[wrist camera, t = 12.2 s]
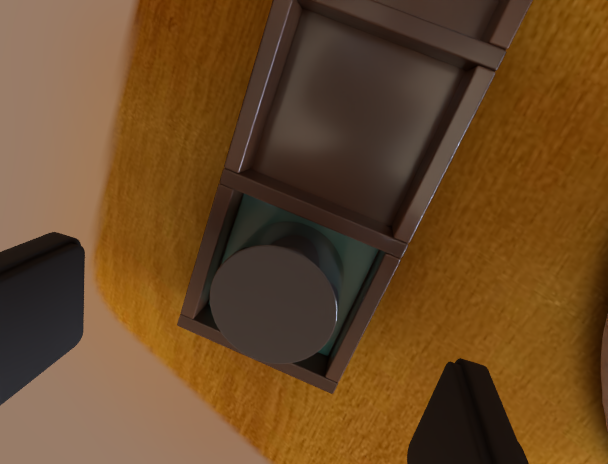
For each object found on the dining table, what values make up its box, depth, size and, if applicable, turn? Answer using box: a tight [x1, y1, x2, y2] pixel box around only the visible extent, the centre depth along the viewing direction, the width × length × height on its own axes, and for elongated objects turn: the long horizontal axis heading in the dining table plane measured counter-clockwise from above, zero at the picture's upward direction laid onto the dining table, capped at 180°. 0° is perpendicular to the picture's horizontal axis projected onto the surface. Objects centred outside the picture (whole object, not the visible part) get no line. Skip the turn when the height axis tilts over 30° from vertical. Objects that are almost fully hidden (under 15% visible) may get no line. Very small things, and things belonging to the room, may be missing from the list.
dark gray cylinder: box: [210, 221, 344, 364], centre depth 14 cm, size 4×4×3 cm
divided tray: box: [177, 0, 533, 394], centre depth 13 cm, size 20×7×2 cm, turn 159°
